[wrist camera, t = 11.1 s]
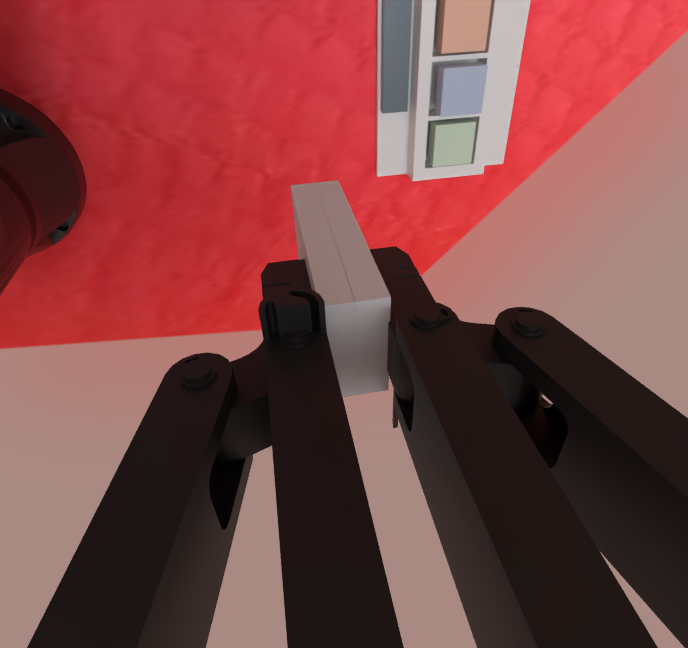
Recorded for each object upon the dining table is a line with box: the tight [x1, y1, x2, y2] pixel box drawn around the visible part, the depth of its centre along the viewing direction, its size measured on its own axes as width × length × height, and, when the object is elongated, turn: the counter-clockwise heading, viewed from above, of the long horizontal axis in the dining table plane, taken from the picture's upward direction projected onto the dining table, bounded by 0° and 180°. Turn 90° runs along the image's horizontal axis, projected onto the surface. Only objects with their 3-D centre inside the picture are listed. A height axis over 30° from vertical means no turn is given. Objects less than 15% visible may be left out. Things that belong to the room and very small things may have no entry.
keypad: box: [376, 0, 530, 181], centre depth 44 cm, size 14×22×3 cm, turn 2°
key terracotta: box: [436, 0, 491, 54], centre depth 42 cm, size 4×4×2 cm
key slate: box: [435, 62, 488, 117], centre depth 44 cm, size 4×4×2 cm
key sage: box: [428, 117, 476, 167], centre depth 48 cm, size 4×4×2 cm
